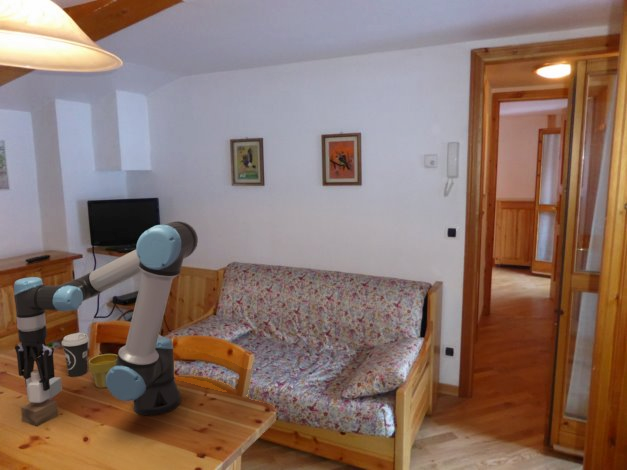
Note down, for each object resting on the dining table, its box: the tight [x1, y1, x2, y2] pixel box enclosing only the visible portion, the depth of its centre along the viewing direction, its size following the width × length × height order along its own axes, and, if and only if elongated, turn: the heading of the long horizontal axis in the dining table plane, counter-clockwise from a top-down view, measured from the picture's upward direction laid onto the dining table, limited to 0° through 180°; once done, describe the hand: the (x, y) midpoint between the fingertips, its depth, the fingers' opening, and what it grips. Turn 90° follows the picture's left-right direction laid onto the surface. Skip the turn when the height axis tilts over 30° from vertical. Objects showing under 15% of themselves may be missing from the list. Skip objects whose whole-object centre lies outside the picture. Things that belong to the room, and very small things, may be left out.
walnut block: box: [20, 399, 59, 427], centre depth 145 cm, size 7×7×5 cm
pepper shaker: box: [28, 369, 41, 403], centre depth 143 cm, size 4×4×10 cm
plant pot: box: [87, 353, 118, 389], centre depth 168 cm, size 10×10×10 cm
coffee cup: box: [61, 332, 90, 378], centre depth 177 cm, size 10×10×15 cm
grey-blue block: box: [48, 376, 63, 400], centre depth 160 cm, size 7×7×5 cm
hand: (38, 398), depth 144 cm, fingers closed on pepper shaker, 5 cm apart
